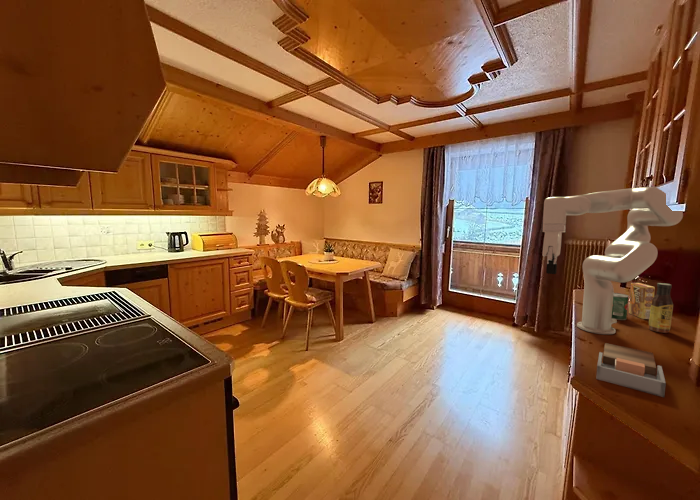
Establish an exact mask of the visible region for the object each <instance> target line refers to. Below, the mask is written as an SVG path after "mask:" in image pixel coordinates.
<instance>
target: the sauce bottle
mask: <svg viewBox="0 0 700 500" xmlns="http://www.w3.org/2000/svg"><path fill="white" fill-rule="evenodd" d="M656 287H657V290H656V294H654V297H653V299H652V304H651V309H650V317H649V319H648V329H649V330H650V331H652V332H656V333H663V334H667V333H669V332H670V331H671V326H672V320H673V319H672V317H673V311H674V303H673V299H672V297H671V290H672V288H673V287H672V284H670V283H665V282H664V283H661V282H657V285H656Z"/></svg>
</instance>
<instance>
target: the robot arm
mask: <svg viewBox="0 0 700 500" xmlns="http://www.w3.org/2000/svg"><path fill="white" fill-rule="evenodd" d="M666 194H667V193H666V192H665V191H663V190H662V189H660V188H658V187H655V186H643V187H632V188H623V189H615V190H614V189H613V190H604V191H597V192H592V193H586V194H579V195H570V196H552V197H551V196H550V197H547V198H545V199H544V202H543V215H542V216H543V217H542V233H544V237H543V244H542V255H541V256H542V257H544V258H545V257H547V259H546V268H545V269H546V274H548V275H549V274H551V275H556V274H557V269H558V268H557V267H558V264H557V260H558V257H559V256H560V255H561V247H562V237H563V236H562V234H563V233H566V226H567V225H566V224H567V216H582V215H584V214H586V213H587V214H588V213H589V214H600V213H602V214H603V213H609V212H611V213H612V212H617V211H618V212H619V211H625V210H629V211H628V214H627V218H626V219H627V225H626V226H627V228H626V231H625V232H623V234H621V235H620V236H619V237H618V238H616V239H615V240H614V241H613V242H611V243H610V244H609V245H608V246H607V247H605V250H604V255H601V254H594V255H593V254H592V255H590V256H588V257H586V258H585V259H584V260H583V262H582V274H583V278H584V279H583V280H584V282H583V283H584V284H583V285H584V287H583V288H584V289H583V299H582V313H581V321H578V322H577V323H576V326H577V327H578V328H579V329H581V330H583V331H585V332H588V333H592V334H597V335H614V334H615V333H616V330H617V329H616V328H614V327H613V326H612V325H613V324H617V322H618V321H617V320H616V319H611V318H612V305H613V295H614V293H615V292H614V290H615V289H614V285H613V283H612V282H615V283H620V284H621V283H622V284H624V283H629V282H630V281H632V280H634V279H636V278H637V277H638V276H640V275H641V274H642V273H644V271H646V270H647V269H648V268H650V266H652V265H653V264H654V263H655V261H656V260H657V258H658V248H657V247H656V246H655V245H654V244H653V243H651V237H652V236H651V233H650V231H649V226H651V227H671V226H675V225H677V224H679V223H680V222H681V221H682V220H683V217H684V213H683V210H682V211H672V210H671V209H670V208H669V207H668V206H667V205H666Z"/></svg>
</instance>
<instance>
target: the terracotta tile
mask: <svg viewBox="0 0 700 500" xmlns="http://www.w3.org/2000/svg"><path fill="white" fill-rule="evenodd" d="M616 370H619V371H623V372H627V373H631V374H635V375H639V376H643V377H644V371H645V365H644V364H642V363H638V362H633V361H629V360H625V359H620V358H616Z"/></svg>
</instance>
